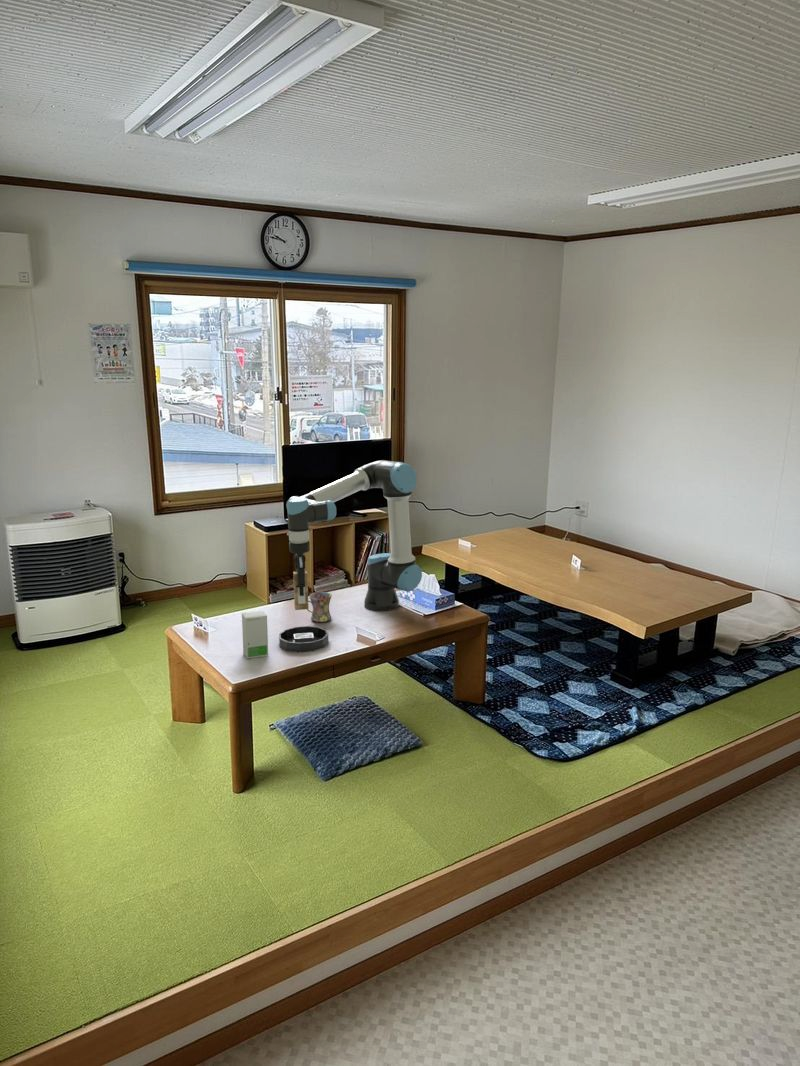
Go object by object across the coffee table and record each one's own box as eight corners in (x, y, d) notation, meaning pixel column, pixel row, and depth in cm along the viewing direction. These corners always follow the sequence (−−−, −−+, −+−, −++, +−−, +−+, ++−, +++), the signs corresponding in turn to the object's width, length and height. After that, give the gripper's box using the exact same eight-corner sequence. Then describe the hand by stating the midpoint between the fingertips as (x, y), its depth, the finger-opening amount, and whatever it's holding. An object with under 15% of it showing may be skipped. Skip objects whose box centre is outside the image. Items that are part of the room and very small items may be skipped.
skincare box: (246, 659, 269) (244, 618, 266) (242, 653, 275) (240, 612, 272) (269, 655, 273) (267, 615, 269) (265, 649, 279) (263, 609, 275)
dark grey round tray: (325, 633, 295) (324, 624, 294) (330, 649, 278) (330, 640, 277) (278, 636, 292) (278, 628, 291) (280, 654, 274) (280, 645, 273)
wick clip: (313, 638, 288) (312, 632, 287) (314, 643, 283) (314, 637, 282) (293, 640, 286) (293, 634, 286) (294, 645, 281) (293, 638, 281)
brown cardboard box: (307, 606, 284) (306, 571, 281) (308, 609, 281) (307, 573, 278) (294, 607, 283) (293, 571, 280) (295, 610, 280) (293, 573, 277)
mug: (325, 614, 317) (324, 590, 314) (336, 620, 309) (335, 596, 307) (300, 620, 310) (299, 595, 308) (310, 626, 303) (310, 601, 300)
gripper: (287, 536, 283) (290, 596, 288) (290, 546, 268) (292, 609, 273) (307, 535, 284) (309, 595, 290) (311, 545, 269) (313, 607, 274)
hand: (301, 601), depth 281 cm, fingers closed on brown cardboard box, 3 cm apart
